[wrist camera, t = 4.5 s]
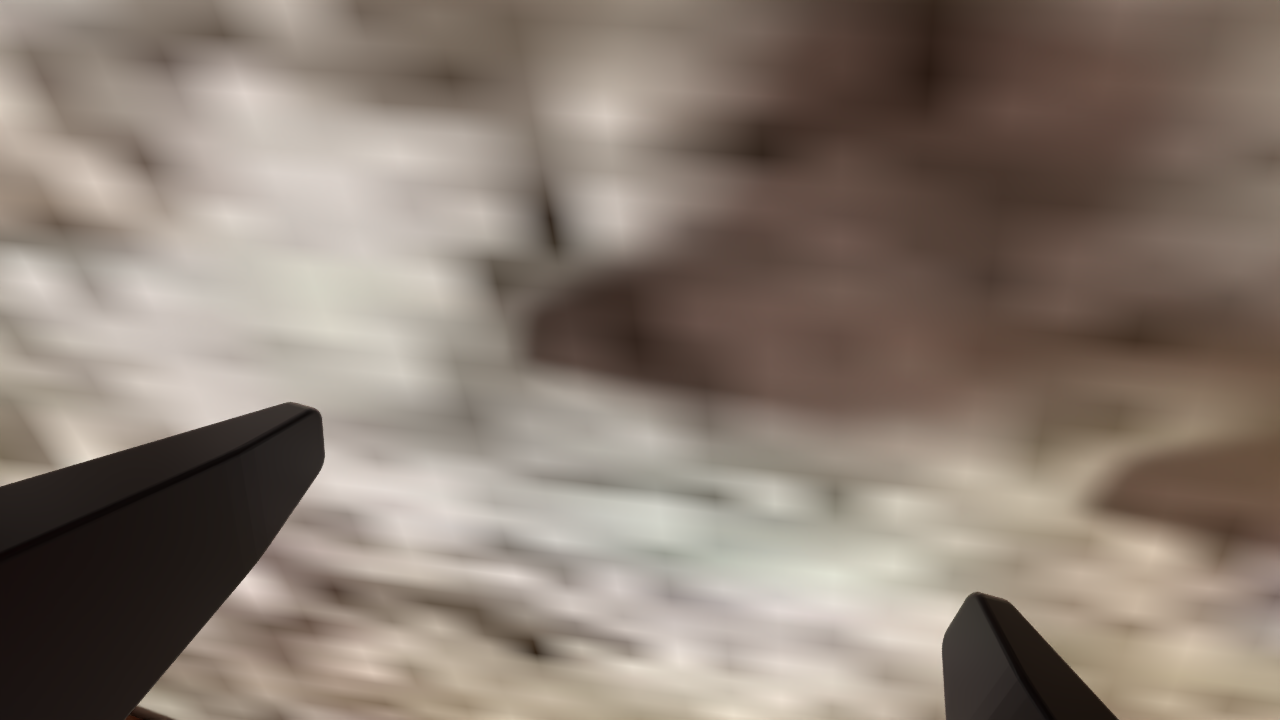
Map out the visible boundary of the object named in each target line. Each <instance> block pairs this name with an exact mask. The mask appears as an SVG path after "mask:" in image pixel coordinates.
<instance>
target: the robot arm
mask: <svg viewBox="0 0 1280 720" xmlns="http://www.w3.org/2000/svg"><path fill="white" fill-rule="evenodd" d="M324 458H325V449H324V437H323V425H322V417H321V414H320V412H319V411H318V410H317V409H315V408H313V407H309V406H305V405H302V404H298V403H293V402H287V403H283V404H280V405H276V406H273V407H270V408H266V409H263V410H259V411H256V412H253V413H249V414H246V415H242V416H239V417H236V418H232V419H229V420H225V421H222V422H219V423H215V424H212V425H208V426H205V427H202V428H198V429H195V430H191V431H188V432H185V433H181V434H178V435H174V436H171V437H168V438H164V439H161V440H157V441H154V442H151V443H147V444H144V445H140V446H137V447H134V448H130V449H127V450H123V451H120V452H117V453H113V454H110V455H106V456H103V457H100V458H96V459H93V460H89V461H86V462H83V463H79V464H76V465H72V466H69V467H66V468H62V469H59V470H55V471H52V472H49V473H45V474H42V475H38V476H35V477H32V478H28V479H25V480H21V481H18V482H15V483H11V484H8V485H4V486H1V487H0V720H125V719H126V718H127V717H128V715H129V714H130V713H131V712H132V711H133V710H134V708H135V707H136V706H137V705H138V704H139V702H140V701H141V700H142V699H143V698H144V696H145V695H146V694H147V693H148V692H149V691H150V689H151V688H152V687H153V686H154V685H155V683H156V682H157V681H158V680H159V679H160V677H161V676H162V675H163V674H164V673H165V672H166V670H167V669H168V668H169V667H170V666H171V664H172V663H173V662H174V661H175V660H176V659H177V657H178V656H179V655H180V654H181V653H182V651H183V650H184V649H185V648H186V647H187V645H188V644H189V643H190V642H191V641H192V640H193V638H194V637H195V636H196V635H197V634H198V632H199V631H200V630H201V629H202V628H203V627H204V625H205V624H206V623H207V622H208V621H209V619H210V618H211V617H212V616H213V615H214V613H215V612H216V611H217V610H218V609H219V608H220V606H221V605H222V604H223V603H224V602H225V600H226V599H227V598H228V597H229V596H230V594H231V593H232V592H233V591H234V590H235V589H236V587H237V586H238V585H239V584H240V583H241V581H242V580H243V579H244V578H245V577H246V575H247V574H248V573H249V572H250V571H251V569H252V568H253V567H254V566H255V564H256V563H257V562H258V561H259V559H260V558H261V556H262V555H263V554H264V552H265V551H266V550H267V548H268V547H269V545H270V544H271V543H272V541H273V540H274V538H275V537H276V535H277V534H278V532H279V531H280V529H281V528H282V526H283V525H284V524H285V522H286V521H287V519H288V518H289V516H290V515H291V513H292V512H293V510H294V509H295V507H296V506H297V505H298V503H299V502H300V500H301V499H302V497H303V496H304V494H305V493H306V491H307V490H308V488H309V487H310V485H311V484H312V483H313V481H314V480H315V478H316V477H317V475H318V474H319V472H320V470H321V468H322V466H323V463H324ZM942 660H943V678H944V696H945V714H946V720H1118V718H1117V717H1116V716H1115V715H1114V714H1113V713H1112V712H1111V711H1110V710H1109V709H1108V708H1107V707H1106V705H1105V704H1104V703H1103V702H1102V701H1101V700H1100V699H1099V698H1098V697H1097V696H1096V695H1095V694H1094V692H1093V691H1092V690H1091V689H1090V688H1089V687H1088V686H1087V685H1086V684H1085V683H1084V682H1083V681H1082V679H1081V678H1080V677H1079V676H1078V675H1077V674H1076V673H1075V672H1074V671H1073V670H1072V669H1071V668H1070V667H1069V665H1068V664H1067V663H1066V662H1065V661H1064V660H1063V659H1062V658H1061V657H1060V656H1059V655H1058V654H1057V652H1056V651H1055V650H1054V649H1053V648H1052V647H1051V646H1050V645H1049V644H1048V643H1047V642H1046V641H1045V639H1044V638H1043V637H1042V636H1041V635H1040V634H1039V633H1038V632H1037V631H1036V630H1035V629H1034V628H1033V626H1032V625H1031V624H1030V623H1029V622H1028V621H1027V620H1026V619H1025V618H1024V617H1023V616H1022V615H1021V613H1020V612H1019V611H1018V610H1017V609H1016V608H1015V607H1014V606H1013V605H1012V604H1011V603H1010V602H1008V601H1007V600H1005V599H1002V598H999V597H995V596H992V595H988V594H984V593H981V592H974V593H972V594H970V595H969V596H968V597H967V598H966V600H965V601H964V603H963V605H962V606H961V608H960V609H959V611H958V613H957V614H956V616H955V617H954V619H953V621H952V622H951V624H950V626H949V627H948V629H947V631H946V633H945V635H944V638H943V643H942Z"/></svg>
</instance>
